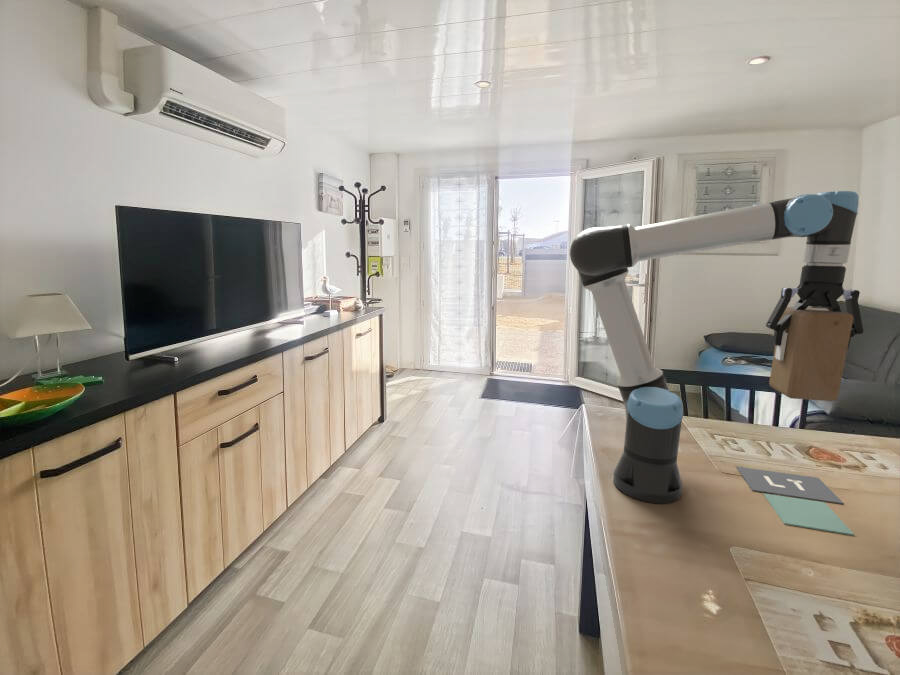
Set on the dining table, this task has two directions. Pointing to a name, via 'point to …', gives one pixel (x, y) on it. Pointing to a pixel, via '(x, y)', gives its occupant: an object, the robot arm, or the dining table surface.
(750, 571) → the dining table surface
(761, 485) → the mat
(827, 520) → the pad
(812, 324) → the wooden block
